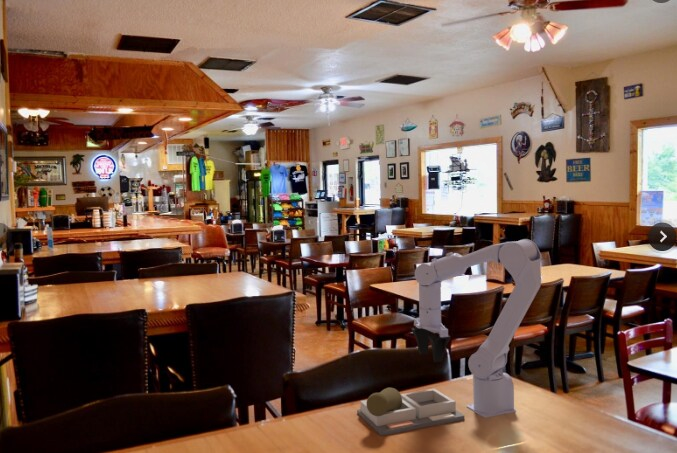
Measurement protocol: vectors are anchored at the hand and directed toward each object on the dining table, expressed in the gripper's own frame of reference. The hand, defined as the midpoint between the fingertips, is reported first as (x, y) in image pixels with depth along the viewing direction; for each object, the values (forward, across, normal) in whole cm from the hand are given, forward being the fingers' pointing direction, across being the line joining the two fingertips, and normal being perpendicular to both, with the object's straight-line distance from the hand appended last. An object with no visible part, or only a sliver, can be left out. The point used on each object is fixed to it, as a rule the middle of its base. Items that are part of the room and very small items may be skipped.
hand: (430, 357), depth 148 cm
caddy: (+10, +10, -12) cm, 19 cm away
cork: (+6, +8, -16) cm, 19 cm away
